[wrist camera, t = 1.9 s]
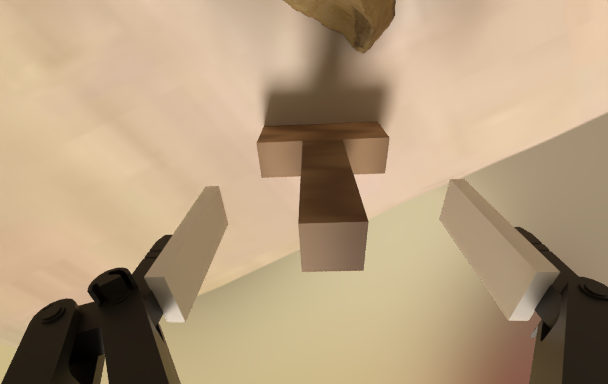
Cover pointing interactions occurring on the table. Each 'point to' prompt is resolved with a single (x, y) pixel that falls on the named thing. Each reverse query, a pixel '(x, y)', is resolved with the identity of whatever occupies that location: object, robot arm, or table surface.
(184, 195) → the table surface
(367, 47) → the rock
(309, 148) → the brown t-shaped block
